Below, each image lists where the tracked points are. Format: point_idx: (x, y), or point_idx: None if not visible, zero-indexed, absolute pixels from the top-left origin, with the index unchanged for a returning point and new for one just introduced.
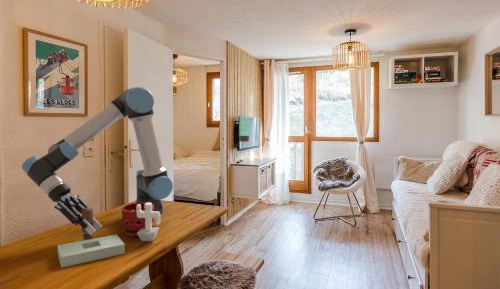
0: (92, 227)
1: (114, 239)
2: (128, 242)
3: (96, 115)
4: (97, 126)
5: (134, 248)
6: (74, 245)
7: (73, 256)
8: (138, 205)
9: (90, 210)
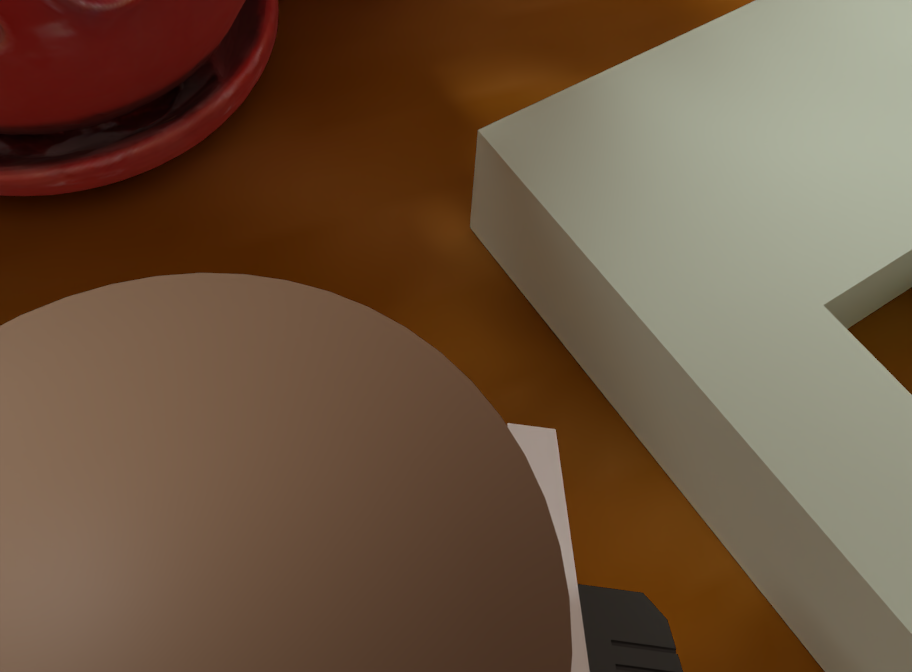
0: (544, 473)
1: (721, 95)
2: (451, 99)
3: None
4: None
5: (648, 3)
6: None
7: None
8: None
9: (389, 337)
